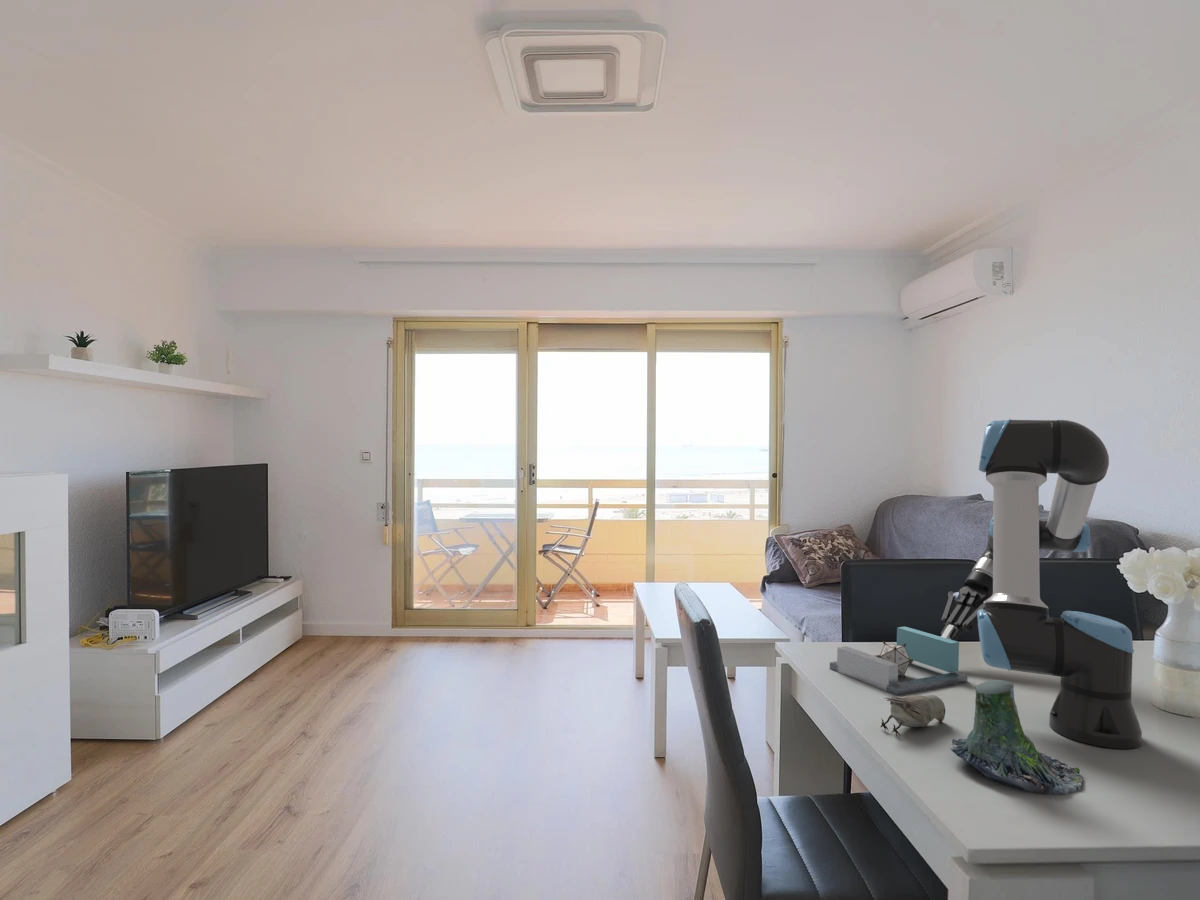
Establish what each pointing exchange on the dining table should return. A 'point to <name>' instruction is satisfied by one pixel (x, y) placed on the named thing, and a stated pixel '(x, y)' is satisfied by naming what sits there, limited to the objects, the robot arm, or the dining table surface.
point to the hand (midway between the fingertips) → (941, 647)
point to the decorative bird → (915, 710)
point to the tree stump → (1010, 746)
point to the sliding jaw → (929, 648)
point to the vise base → (886, 672)
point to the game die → (896, 656)
